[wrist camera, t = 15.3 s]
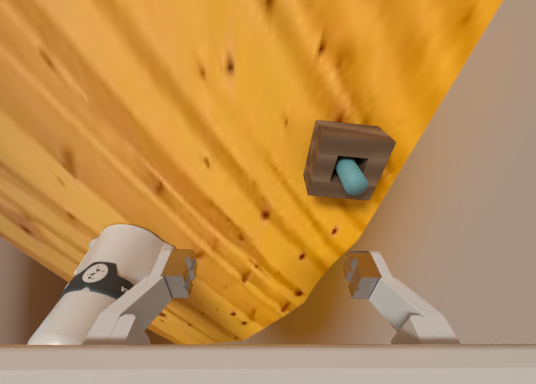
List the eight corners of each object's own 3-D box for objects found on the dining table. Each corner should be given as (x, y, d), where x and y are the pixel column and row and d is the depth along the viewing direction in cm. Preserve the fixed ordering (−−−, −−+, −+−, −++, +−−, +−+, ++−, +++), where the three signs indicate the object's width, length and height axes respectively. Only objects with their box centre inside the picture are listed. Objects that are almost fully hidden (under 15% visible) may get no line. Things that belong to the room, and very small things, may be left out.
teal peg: (344, 161, 39) (364, 196, 31) (327, 160, 39) (342, 194, 31) (349, 144, 37) (371, 177, 29) (331, 143, 37) (348, 176, 29)
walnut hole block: (357, 180, 41) (369, 200, 37) (303, 175, 41) (308, 195, 36) (378, 126, 36) (396, 142, 31) (315, 120, 35) (323, 135, 30)
